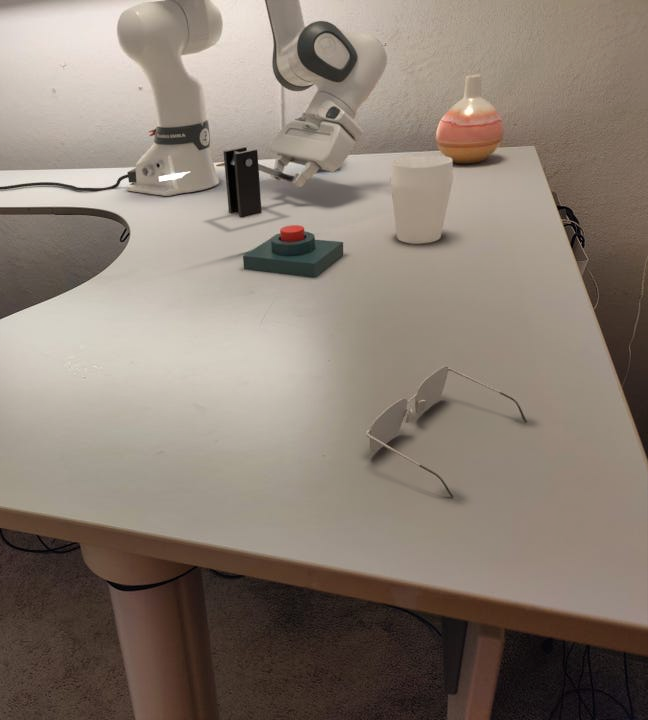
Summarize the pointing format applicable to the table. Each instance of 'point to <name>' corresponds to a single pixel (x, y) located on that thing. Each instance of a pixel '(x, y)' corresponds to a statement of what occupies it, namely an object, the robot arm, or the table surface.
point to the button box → (294, 256)
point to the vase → (470, 126)
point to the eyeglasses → (394, 415)
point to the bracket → (243, 182)
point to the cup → (421, 196)
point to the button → (292, 233)
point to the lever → (269, 171)
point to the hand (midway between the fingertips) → (285, 181)
